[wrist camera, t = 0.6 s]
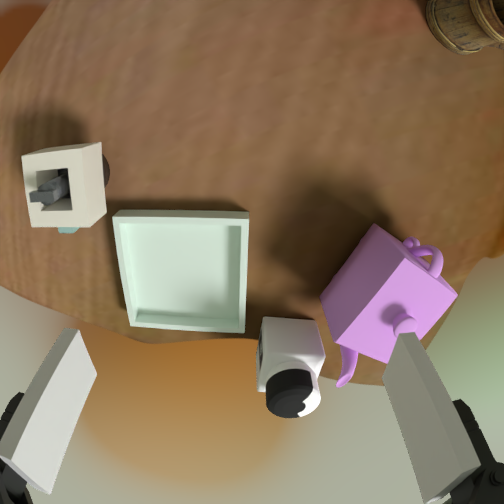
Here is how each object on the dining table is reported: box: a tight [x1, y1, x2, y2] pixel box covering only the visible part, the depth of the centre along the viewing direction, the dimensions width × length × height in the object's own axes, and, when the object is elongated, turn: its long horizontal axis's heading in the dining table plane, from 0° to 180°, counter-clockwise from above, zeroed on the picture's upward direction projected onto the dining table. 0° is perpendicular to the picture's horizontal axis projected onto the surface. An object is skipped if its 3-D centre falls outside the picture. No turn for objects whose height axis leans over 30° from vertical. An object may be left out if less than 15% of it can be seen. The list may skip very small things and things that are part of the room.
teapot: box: [319, 223, 458, 387], centre depth 36 cm, size 20×10×12 cm, turn 150°
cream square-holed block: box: [22, 142, 107, 233], centre depth 30 cm, size 9×8×4 cm
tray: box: [112, 210, 249, 333], centre depth 40 cm, size 16×16×3 cm
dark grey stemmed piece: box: [29, 154, 110, 205], centre depth 30 cm, size 6×6×11 cm
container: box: [256, 316, 325, 418], centre depth 40 cm, size 8×8×13 cm
